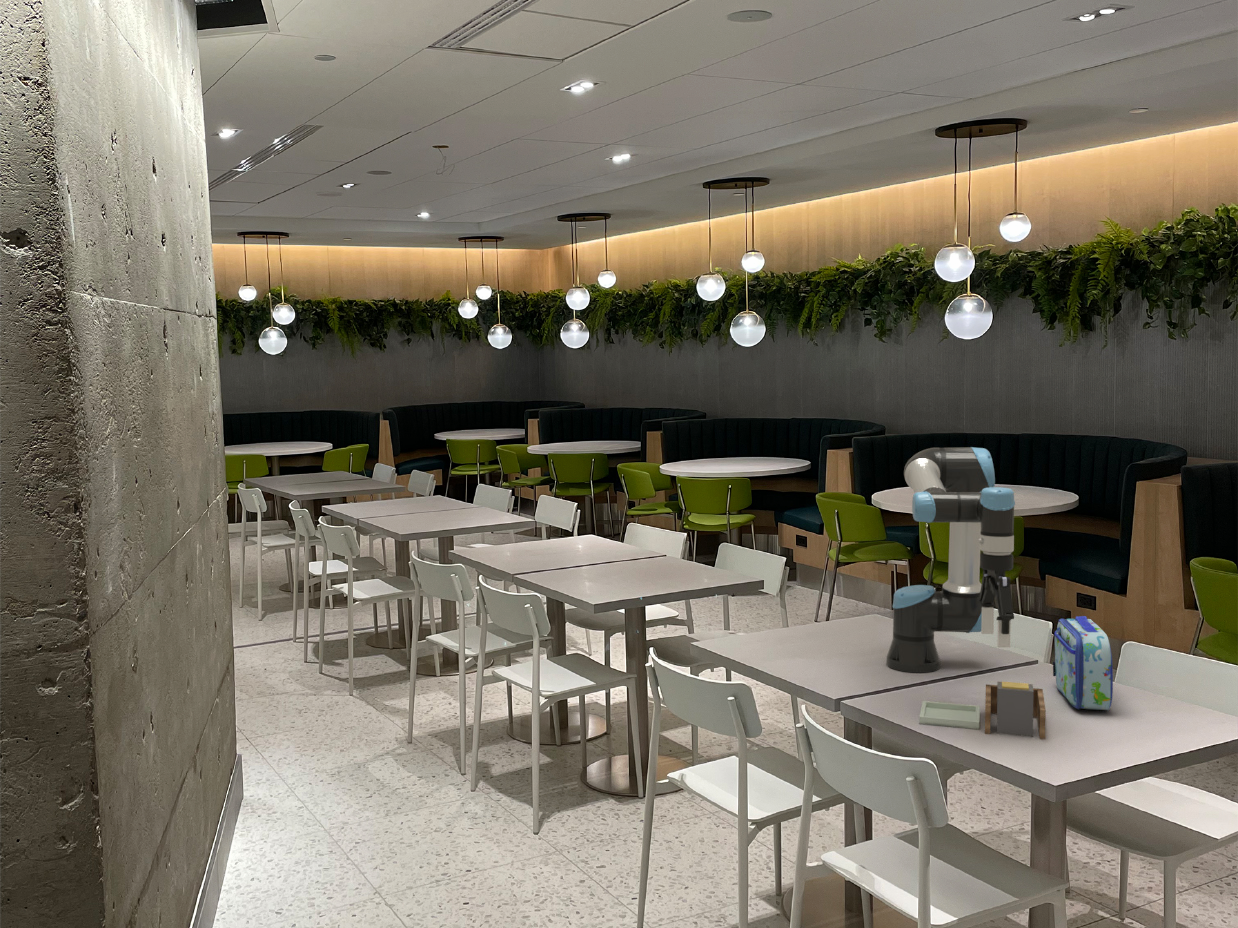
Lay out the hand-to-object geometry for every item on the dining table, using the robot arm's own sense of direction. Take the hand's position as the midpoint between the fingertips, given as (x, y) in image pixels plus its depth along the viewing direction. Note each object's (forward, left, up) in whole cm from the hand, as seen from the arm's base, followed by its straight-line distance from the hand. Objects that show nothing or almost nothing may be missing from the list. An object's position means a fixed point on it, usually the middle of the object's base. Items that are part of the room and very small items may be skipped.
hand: (995, 640), depth 255 cm
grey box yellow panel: (0, +5, -22) cm, 23 cm away
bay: (-5, +5, -22) cm, 23 cm away
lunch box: (-30, +22, -22) cm, 44 cm away
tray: (-5, -10, -22) cm, 25 cm away
